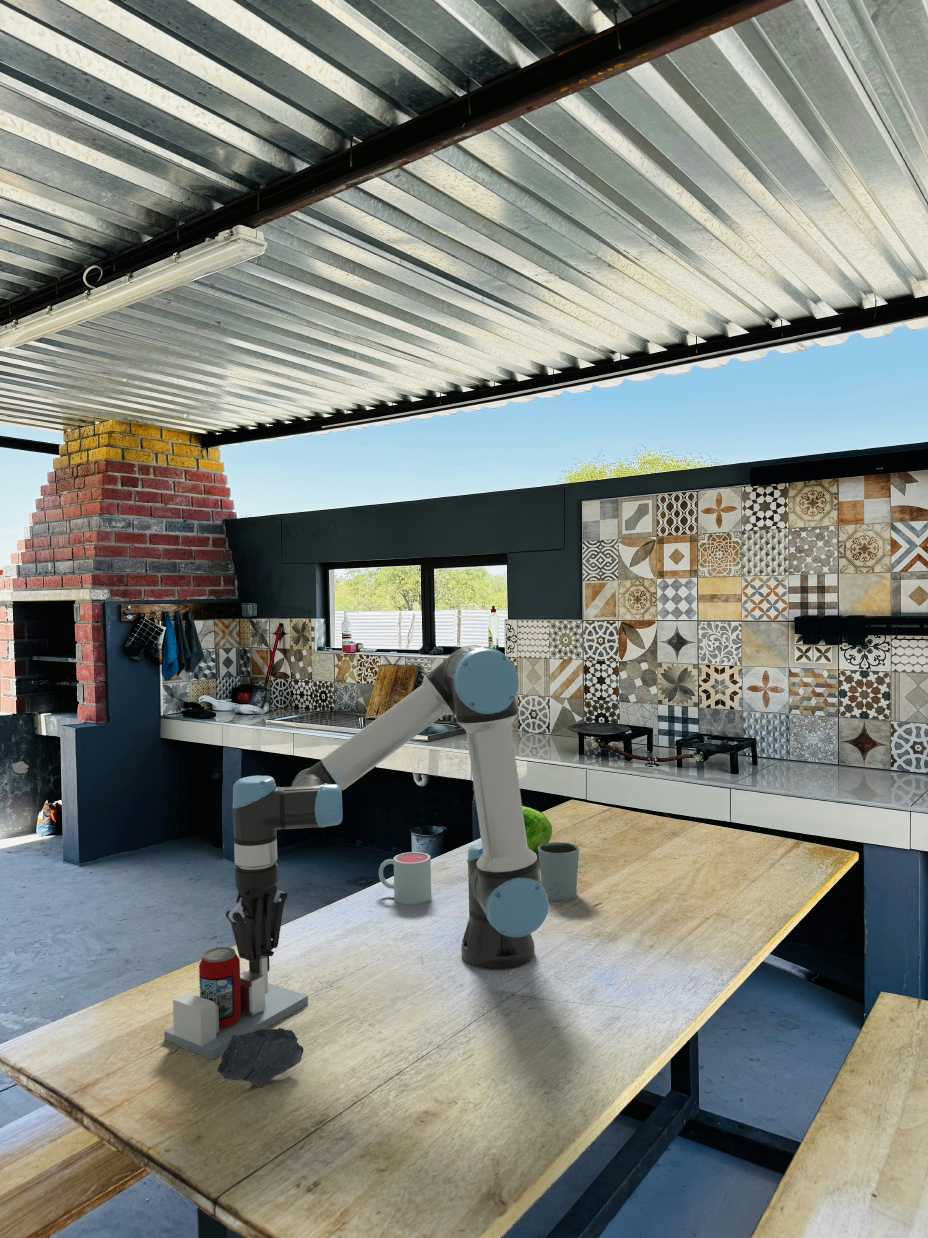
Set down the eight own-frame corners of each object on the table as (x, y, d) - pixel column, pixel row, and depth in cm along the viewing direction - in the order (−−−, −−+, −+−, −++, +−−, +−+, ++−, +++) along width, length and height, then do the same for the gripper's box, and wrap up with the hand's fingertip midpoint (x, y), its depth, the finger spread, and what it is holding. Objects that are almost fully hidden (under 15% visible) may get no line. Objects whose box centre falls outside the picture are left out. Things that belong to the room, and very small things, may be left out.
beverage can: (192, 1030, 142) (190, 960, 142) (214, 1011, 148) (212, 944, 148) (228, 1034, 140) (226, 963, 140) (248, 1015, 147) (246, 947, 146)
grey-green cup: (533, 900, 205) (532, 851, 205) (545, 886, 214) (544, 840, 214) (574, 904, 201) (573, 855, 201) (584, 891, 210) (583, 843, 210)
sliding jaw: (265, 1009, 148) (264, 975, 148) (249, 1017, 145) (249, 983, 145) (238, 999, 152) (237, 966, 152) (222, 1007, 149) (221, 974, 149)
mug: (436, 893, 211) (435, 853, 211) (423, 906, 202) (422, 864, 202) (387, 888, 216) (386, 849, 216) (371, 900, 207) (370, 860, 207)
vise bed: (308, 1004, 154) (307, 963, 153) (212, 1060, 135) (211, 1013, 135) (262, 988, 160) (261, 949, 160) (164, 1040, 142) (163, 996, 142)
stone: (280, 1059, 135) (279, 998, 134) (309, 1069, 132) (308, 1006, 131) (215, 1105, 123) (213, 1038, 122) (246, 1117, 120) (244, 1048, 119)
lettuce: (501, 842, 256) (513, 798, 257) (556, 864, 243) (567, 818, 244) (473, 841, 244) (484, 795, 246) (528, 864, 232) (540, 816, 233)
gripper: (268, 850, 159) (271, 973, 159) (213, 870, 148) (218, 1002, 149) (296, 856, 155) (300, 983, 155) (243, 877, 144) (247, 1012, 145)
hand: (260, 992), depth 152 cm, fingers closed
